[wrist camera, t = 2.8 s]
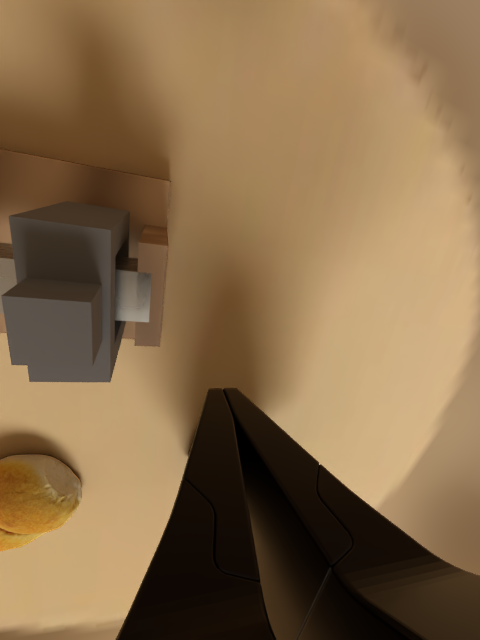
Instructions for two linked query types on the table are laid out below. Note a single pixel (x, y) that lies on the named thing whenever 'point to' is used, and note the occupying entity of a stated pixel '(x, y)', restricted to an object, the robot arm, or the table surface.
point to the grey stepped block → (66, 291)
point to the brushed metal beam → (126, 288)
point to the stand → (100, 190)
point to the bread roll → (34, 497)
